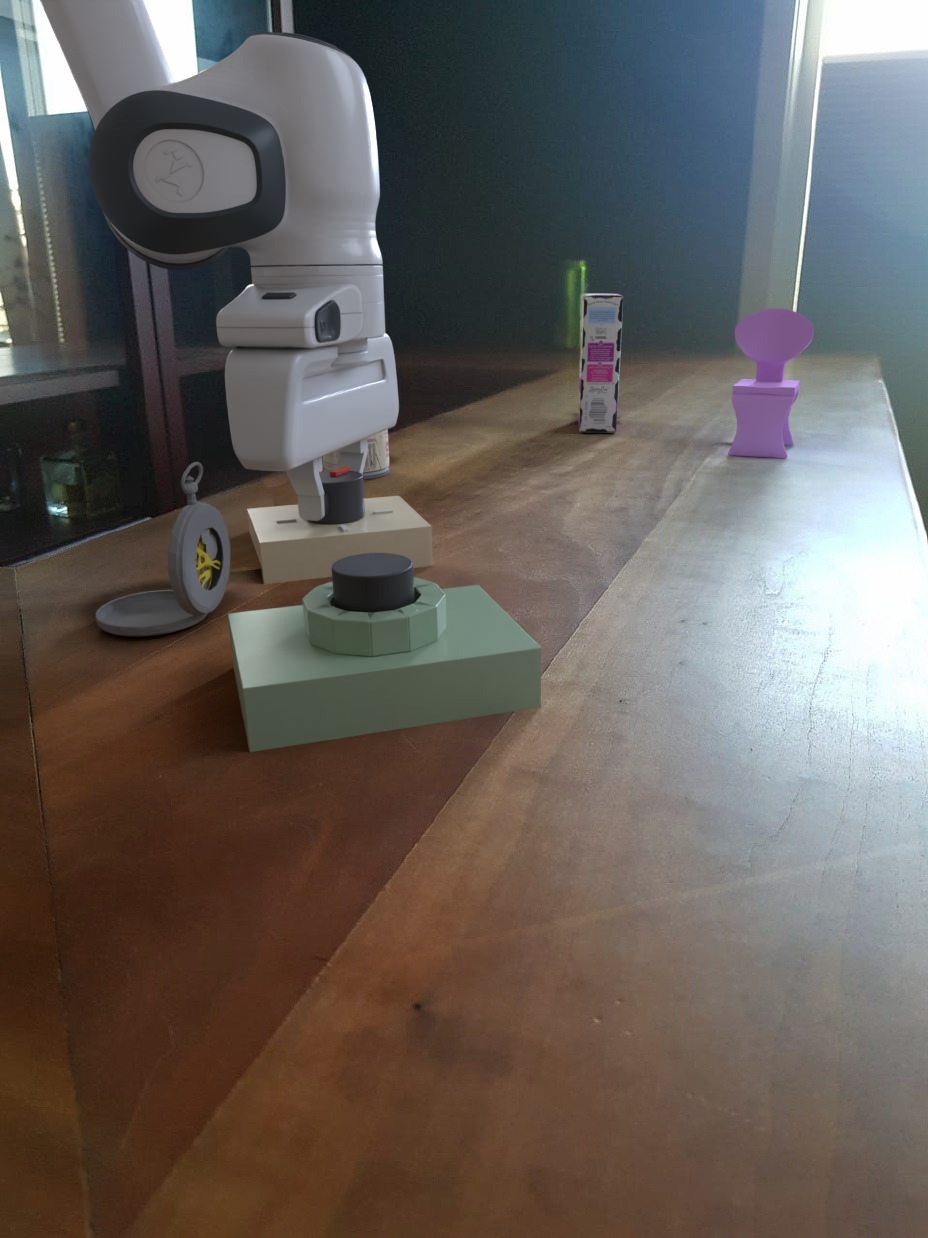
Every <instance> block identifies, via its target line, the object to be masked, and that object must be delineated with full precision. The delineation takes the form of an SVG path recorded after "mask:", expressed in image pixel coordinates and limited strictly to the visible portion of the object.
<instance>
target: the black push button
mask: <svg viewBox="0 0 928 1238" xmlns="http://www.w3.org/2000/svg"><path fill="white" fill-rule="evenodd" d="M414 575H415V574H414V568H413V562H412V561H411V560H410V559H409V558H407V557H405V556H401V555H397V554H390V553H365V554H358V555H352V556H348V557H345V558H342V559H340V560H338V561H336V562H335V563H334V564H333V565H332V577H331V582H332V583H333V597H334V606H335V607H336V608H339V609H342V610H345V611H352V612H367V613H374V612H382V611H391V610H396V609H399V608H402V607H405V606H408V605H410V604H413V603H414V601H415V598H414V577H415V576H414Z"/></svg>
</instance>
